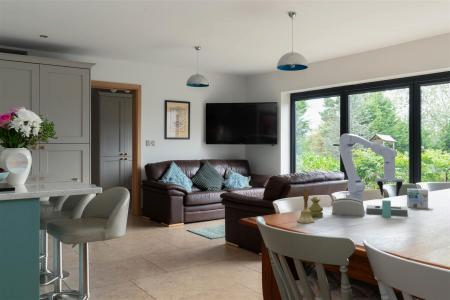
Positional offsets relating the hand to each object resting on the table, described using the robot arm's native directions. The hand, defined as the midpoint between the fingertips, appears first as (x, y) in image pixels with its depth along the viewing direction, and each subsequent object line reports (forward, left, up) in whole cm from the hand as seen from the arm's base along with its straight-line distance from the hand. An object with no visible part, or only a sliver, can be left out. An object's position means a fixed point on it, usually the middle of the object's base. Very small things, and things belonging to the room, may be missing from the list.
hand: (389, 195), depth 206 cm
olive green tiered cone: (-36, -24, -10) cm, 44 cm away
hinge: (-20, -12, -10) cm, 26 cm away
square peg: (-2, -12, -10) cm, 16 cm away
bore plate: (-2, -1, -9) cm, 10 cm away
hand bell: (-38, -40, -10) cm, 56 cm away
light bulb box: (+15, +28, -10) cm, 33 cm away
